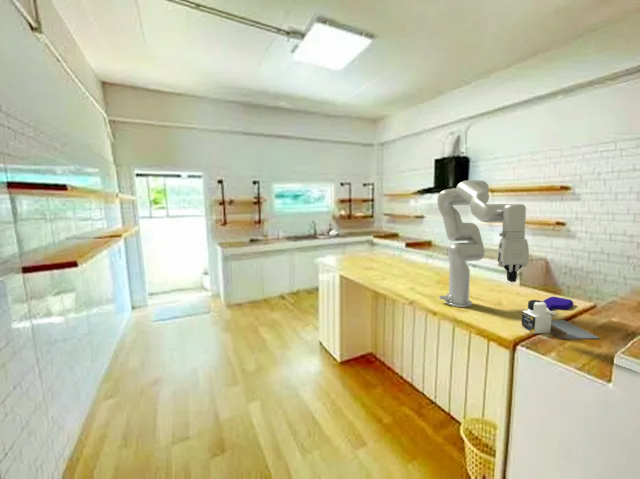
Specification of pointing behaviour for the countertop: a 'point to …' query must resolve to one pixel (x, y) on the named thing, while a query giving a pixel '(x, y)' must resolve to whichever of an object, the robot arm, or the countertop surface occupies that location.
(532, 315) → the medicine bottle
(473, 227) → the robot arm
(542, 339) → the countertop surface
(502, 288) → the countertop surface
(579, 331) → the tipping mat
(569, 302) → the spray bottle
